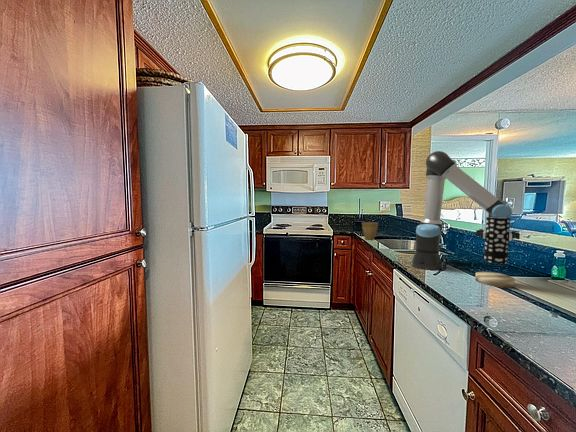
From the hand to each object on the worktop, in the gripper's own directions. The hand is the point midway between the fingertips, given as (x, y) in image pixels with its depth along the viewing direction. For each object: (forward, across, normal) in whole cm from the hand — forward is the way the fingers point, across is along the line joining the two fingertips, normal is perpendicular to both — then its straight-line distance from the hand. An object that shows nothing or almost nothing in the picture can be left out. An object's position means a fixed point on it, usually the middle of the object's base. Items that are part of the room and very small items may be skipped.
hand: (497, 236), depth 112 cm
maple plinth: (-5, 0, -22) cm, 22 cm away
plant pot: (-91, +92, -22) cm, 131 cm away
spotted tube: (-5, 0, -12) cm, 13 cm away
